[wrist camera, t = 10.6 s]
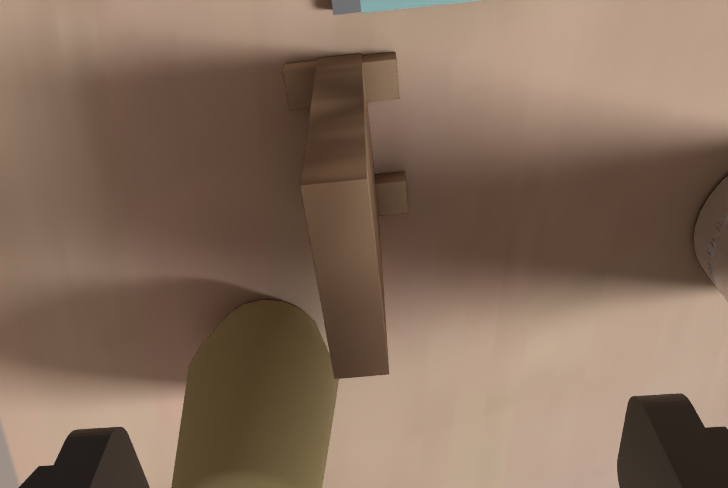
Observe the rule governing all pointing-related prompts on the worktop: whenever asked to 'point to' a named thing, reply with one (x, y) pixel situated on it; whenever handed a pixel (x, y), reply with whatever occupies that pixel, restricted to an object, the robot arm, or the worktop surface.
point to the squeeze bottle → (257, 403)
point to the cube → (401, 4)
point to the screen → (347, 201)
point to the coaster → (346, 6)
